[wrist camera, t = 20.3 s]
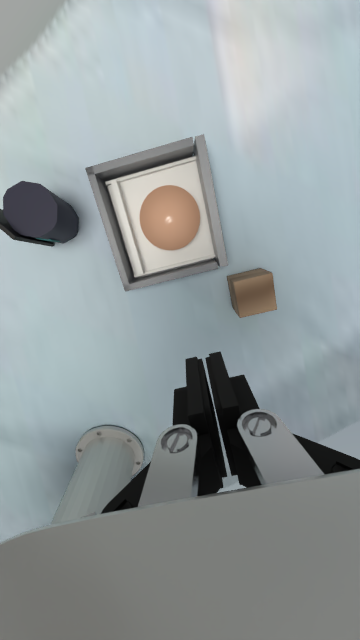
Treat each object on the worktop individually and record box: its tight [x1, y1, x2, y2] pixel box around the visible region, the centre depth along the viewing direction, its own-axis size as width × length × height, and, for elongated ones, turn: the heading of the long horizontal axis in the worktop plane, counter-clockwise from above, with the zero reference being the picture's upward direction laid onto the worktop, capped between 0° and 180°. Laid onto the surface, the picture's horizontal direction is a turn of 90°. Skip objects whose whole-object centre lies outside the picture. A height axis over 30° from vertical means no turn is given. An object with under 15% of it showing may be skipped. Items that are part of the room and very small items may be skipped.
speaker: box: [0, 181, 78, 247], centre depth 30 cm, size 8×6×10 cm
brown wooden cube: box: [227, 268, 277, 318], centre depth 35 cm, size 5×5×5 cm
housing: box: [85, 137, 218, 291], centre depth 33 cm, size 12×15×5 cm
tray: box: [105, 134, 228, 277], centre depth 32 cm, size 13×14×5 cm
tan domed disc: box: [140, 185, 200, 250], centre depth 32 cm, size 8×8×2 cm
